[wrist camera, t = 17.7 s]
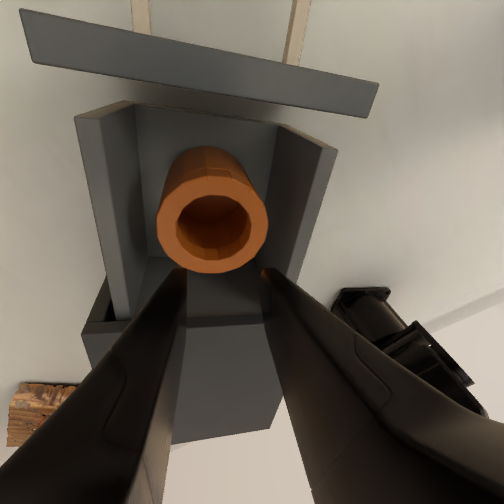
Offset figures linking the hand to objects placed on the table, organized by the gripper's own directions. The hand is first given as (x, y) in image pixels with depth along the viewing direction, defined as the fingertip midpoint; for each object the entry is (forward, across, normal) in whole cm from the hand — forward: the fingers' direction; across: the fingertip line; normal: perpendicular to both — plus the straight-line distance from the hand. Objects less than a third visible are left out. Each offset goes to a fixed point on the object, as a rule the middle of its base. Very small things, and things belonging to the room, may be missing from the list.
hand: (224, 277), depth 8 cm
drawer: (+12, 0, -2) cm, 12 cm away
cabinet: (+12, 0, +13) cm, 18 cm away
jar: (+10, 0, +1) cm, 11 cm away
